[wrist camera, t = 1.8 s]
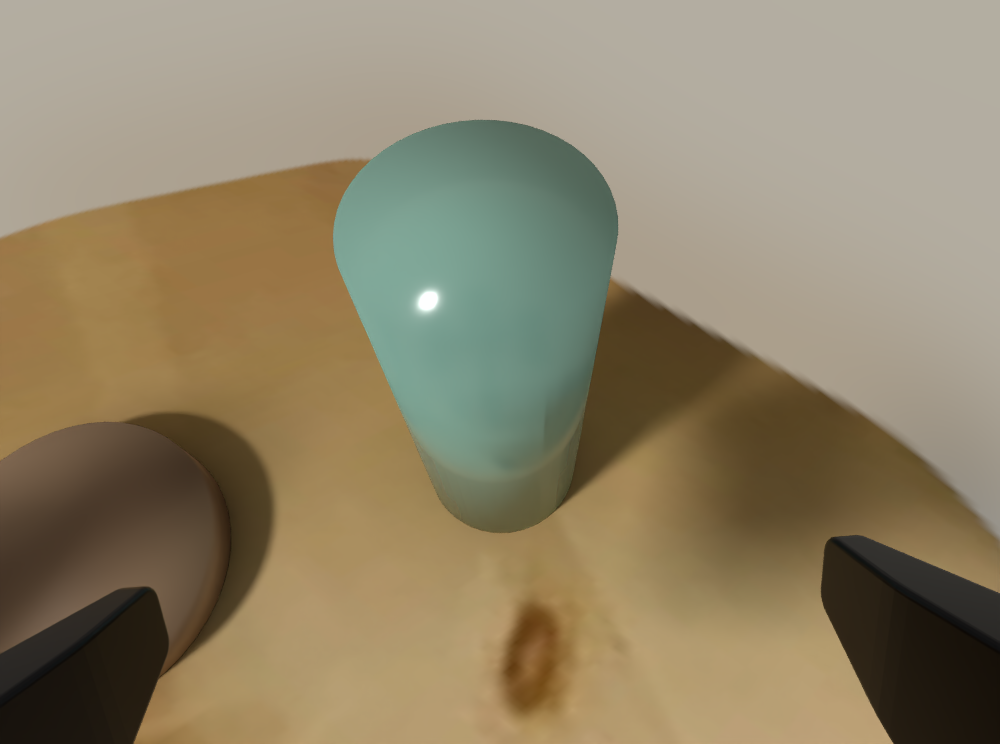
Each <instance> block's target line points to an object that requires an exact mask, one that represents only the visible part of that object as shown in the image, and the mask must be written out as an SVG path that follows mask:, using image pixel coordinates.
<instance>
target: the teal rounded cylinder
mask: <svg viewBox="0 0 1000 744" xmlns="http://www.w3.org/2000/svg"><path fill="white" fill-rule="evenodd" d="M617 236H618V215H617V210H616V204H615V201H614V198H613V196H612V193H611V190H610V188H609V186H608V184H607V183H606V181H605V179H604V177H603V176H602V174H601V173H600V172H599V170H598V169H597V168H596V167H595V165H594V164H593V163H592V162H591V161H590V160H589V159H588V158H587V157H586V156H585V155H584V154H582V153H581V152H580V151H578V150H577V149H576V148H575V147H573V146H572V145H570V144H569V143H567V142H565V141H564V140H562V139H560V138H559V137H556V136H554V135H552V134H550V133H547V132H545V131H543V130H540V129H537V128H533V127H531V126H527V125H523V124H518V123H513V122H506V121H497V120H471V121H459V122H453V123H447V124H442V125H439V126H435V127H431V128H428V129H425V130H422V131H420V132H417V133H414V134H412V135H410V136H408V137H406V138H404V139H402V140H399V141H398V142H396V143H394V144H393V145H391V146H389V147H388V148H386V149H385V150H383V151H382V152H381V153H379V154H378V155H377V156H376V157H374V158H373V159H372V160H371V161H370V162H369V163H368V164H367V165H366V166H365V167H364V168H363V169H362V170H361V171H360V172H359V173H358V174H357V176H356V177H355V178H354V179H353V181H352V182H351V183H350V185H349V187H348V189H347V190H346V192H345V194H344V195H343V198H342V200H341V202H340V205H339V207H338V210H337V214H336V218H335V222H334V232H333V243H334V253H335V257H336V261H337V265H338V268H339V270H340V273H341V275H342V277H343V280H344V282H345V284H346V287H347V289H348V291H349V293H350V296H351V298H352V300H353V303H354V305H355V307H356V310H357V312H358V314H359V316H360V319H361V321H362V323H363V326H364V328H365V330H366V332H367V335H368V337H369V339H370V342H371V344H372V346H373V349H374V351H375V353H376V355H377V358H378V360H379V362H380V365H381V367H382V369H383V372H384V374H385V376H386V378H387V381H388V383H389V385H390V388H391V390H392V392H393V395H394V397H395V399H396V401H397V404H398V406H399V408H400V411H401V413H402V415H403V418H404V420H405V422H406V424H407V427H408V429H409V431H410V434H411V436H412V438H413V441H414V443H415V445H416V447H417V450H418V452H419V454H420V457H421V459H422V461H423V464H424V466H425V468H426V470H427V473H428V475H429V477H430V480H431V482H432V484H433V487H434V489H435V491H436V493H437V495H438V497H439V499H440V500H441V502H442V504H443V505H444V506H445V507H446V509H447V510H448V511H449V512H450V513H451V514H452V515H454V516H455V517H456V518H457V519H459V520H460V521H462V522H463V523H465V524H467V525H469V526H471V527H473V528H476V529H479V530H482V531H487V532H492V533H510V532H516V531H521V530H524V529H527V528H529V527H532V526H534V525H536V524H538V523H540V522H541V521H543V520H544V519H546V518H547V517H548V516H549V515H550V514H552V513H553V512H554V511H555V510H556V508H557V507H558V506H559V505H560V504H561V502H562V501H563V499H564V498H565V496H566V494H567V492H568V490H569V488H570V485H571V481H572V478H573V472H574V467H575V462H576V457H577V451H578V446H579V441H580V435H581V430H582V425H583V419H584V414H585V409H586V403H587V398H588V393H589V387H590V382H591V377H592V371H593V366H594V361H595V355H596V350H597V345H598V339H599V334H600V329H601V323H602V318H603V313H604V307H605V302H606V297H607V291H608V286H609V281H610V276H611V270H612V265H613V259H614V254H615V249H616V243H617Z"/></svg>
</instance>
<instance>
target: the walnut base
mask: <svg viewBox="0 0 1000 744" xmlns="http://www.w3.org/2000/svg"><path fill="white" fill-rule="evenodd" d="M230 549H231V527H230V520H229V513H228V510H227V506H226V503H225V499H224V497H223V495H222V492H221V490H220V488H219V486H218V484H217V483H216V481H215V480H214V478H213V477H212V475H211V474H210V472H209V471H208V470H207V469H206V468H205V467H204V466H203V465H202V464H201V463H200V462H199V461H198V460H196V459H195V458H194V457H192V456H191V455H190V454H188V453H187V452H186V451H184V450H183V449H182V448H180V447H179V446H178V445H176V444H175V443H174V442H172V441H171V440H170V439H168V438H167V437H165V436H163V435H161V434H159V433H157V432H155V431H153V430H150V429H147V428H144V427H141V426H138V425H133V424H127V423H118V422H99V423H88V424H83V425H77V426H72V427H69V428H65V429H62V430H59V431H55V432H53V433H50V434H48V435H46V436H43V437H41V438H38V439H36V440H34V441H32V442H31V443H29V444H27V445H25V446H23V447H21V448H19V449H18V450H16V451H15V452H13V453H12V454H10V455H9V456H7V457H6V458H4V459H3V460H1V461H0V653H2V652H4V651H6V650H8V649H10V648H11V647H13V646H15V645H17V644H19V643H20V642H22V641H24V640H26V639H28V638H30V637H31V636H33V635H35V634H37V633H39V632H40V631H42V630H44V629H46V628H48V627H50V626H51V625H53V624H55V623H57V622H59V621H60V620H62V619H64V618H66V617H68V616H70V615H71V614H73V613H75V612H77V611H79V610H80V609H82V608H84V607H86V606H88V605H90V604H91V603H93V602H95V601H97V600H99V599H100V598H102V597H104V596H106V595H108V594H110V593H111V592H113V591H115V590H117V589H120V588H128V587H142V586H149V587H151V588H153V589H154V590H155V592H156V593H157V596H158V599H159V602H160V606H161V609H162V613H163V617H164V620H165V624H166V627H167V631H168V635H169V650H168V655H167V658H166V661H165V663H164V666H163V668H162V671H161V674H160V676H161V675H162V674H164V673H165V672H166V671H167V670H168V669H169V668H170V667H171V666H172V665H173V664H174V663H175V662H176V661H177V660H178V659H179V658H180V657H181V656H182V655H183V654H184V652H185V651H186V650H187V649H188V647H189V646H190V645H191V644H192V642H193V641H194V640H195V639H196V637H197V636H198V634H199V633H200V631H201V630H202V628H203V626H204V625H205V623H206V622H207V620H208V618H209V616H210V614H211V612H212V610H213V608H214V606H215V605H216V603H217V600H218V597H219V595H220V592H221V589H222V587H223V584H224V581H225V577H226V573H227V569H228V565H229V557H230ZM160 676H159V677H160Z"/></svg>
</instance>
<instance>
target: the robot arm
mask: <svg viewBox="0 0 1000 744" xmlns="http://www.w3.org/2000/svg"><path fill="white" fill-rule="evenodd" d="M821 598H822V602H823V606H824V608H825V611H826V613H827V615H828V617H829V619H830V621H831V623H832V625H833V627H834V629H835V631H836V633H837V636H838V638H839V640H840V642H841V644H842V646H843V648H844V650H845V652H846V654H847V656H848V658H849V660H850V662H851V664H852V666H853V669H854V671H855V673H856V675H857V677H858V679H859V681H860V683H861V685H862V687H863V689H864V691H865V693H866V695H867V697H868V699H869V701H870V703H871V705H872V707H873V709H874V711H875V713H876V715H877V717H878V718H879V720H880V722H881V723H882V725H883V727H884V729H885V730H886V732H887V734H888V735H889V737H890V739H891V740H892V742H893V744H1000V593H998V592H995V591H993V590H990V589H988V588H986V587H983V586H981V585H979V584H976V583H974V582H971V581H969V580H967V579H964V578H962V577H959V576H957V575H955V574H952V573H950V572H948V571H945V570H943V569H940V568H938V567H936V566H933V565H931V564H929V563H926V562H924V561H921V560H919V559H917V558H914V557H912V556H909V555H907V554H905V553H902V552H900V551H898V550H895V549H893V548H890V547H888V546H886V545H883V544H881V543H878V542H876V541H874V540H871V539H869V538H867V537H864V536H860V535H852V536H839V537H831V538H830V539H829V540H828V541H827V543H826V545H825V549H824V560H823V571H822V581H821ZM168 650H169V635H168V631H167V627H166V624H165V620H164V617H163V613H162V609H161V606H160V602H159V599H158V596H157V593H156V592H155V590H154V589H153V588H151V587H149V586H142V587H128V588H120V589H117V590H115V591H113V592H111V593H110V594H108V595H106V596H104V597H102V598H100V599H99V600H97V601H95V602H93V603H91V604H90V605H88V606H86V607H84V608H82V609H80V610H79V611H77V612H75V613H73V614H71V615H70V616H68V617H66V618H64V619H62V620H60V621H59V622H57V623H55V624H53V625H51V626H50V627H48V628H46V629H44V630H42V631H40V632H39V633H37V634H35V635H33V636H31V637H30V638H28V639H26V640H24V641H22V642H20V643H19V644H17V645H15V646H13V647H11V648H10V649H8V650H6V651H4V652H2V653H0V744H134V741H135V739H136V736H137V733H138V731H139V728H140V726H141V723H142V720H143V718H144V715H145V713H146V710H147V707H148V705H149V702H150V700H151V697H152V694H153V692H154V689H155V687H156V684H157V681H158V679H159V676H160V674H161V671H162V668H163V666H164V663H165V661H166V658H167V655H168Z"/></svg>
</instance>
